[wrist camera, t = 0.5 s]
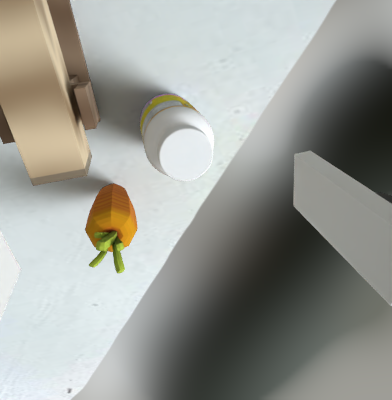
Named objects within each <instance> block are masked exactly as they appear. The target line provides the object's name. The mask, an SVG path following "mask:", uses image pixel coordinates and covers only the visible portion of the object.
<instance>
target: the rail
mask: <svg viewBox="0 0 392 400" xmlns="http://www.w3.org/2000/svg"><path fill="white" fill-rule="evenodd" d="M0 105H1V107H2V110H3V112H4V115H5V117H6V120H7V122H8V125H9V127H10V130H11V132H12V135H13V137H14V140H15V142H16V145H17V147H18V150H19V152H20V154H21V157H22V159H23V162H24V164H25V167H26V169H27V172H28V174H29V177H30V179H31V182H32V184H33V186H35V185H40V184H46V183H51V182H56V181H62V180H67V179H72V178H78V177H83V176H87V174H88V170H89V166H90V162H91V158H92V155H91V152H90V149H89V145H88V142H87V138H86V135H85V131H84V128H83V124H82V121H81V118H80V114H79V111H78V107H77V104H76V100H75V97H74V93H73V90H72V86H71V83H70V80H69V76H68V73H67V69H66V66H65V62H64V59H63V55H62V52H61V49H60V45H59V42H58V38H57V35H56V31H55V28H54V24H53V21H52V17H51V14H50V11H49V7H48V4H47V0H0Z"/></svg>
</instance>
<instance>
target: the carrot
mask: <svg viewBox="0 0 392 400" xmlns="http://www.w3.org/2000/svg"><path fill="white" fill-rule="evenodd" d="M85 231H86V233H87V235H88V237H89V238H90V240H91V242H92V244H93V245H94V247H96V250H99V251H101V252H100V253H99V254H98V256H97V257H96V258H95V259H94V260H93V261H92V262H91V263H90V264H89V266H90V267H96V266H97V265H98V264H99V263H100V262H101V261H102V259H103V258H104V256H105V255H106V253H107V251H110V252H113V257H114V264H115V268H116V271H117V273H122V272H123V271H124V270H125V268H124V264H123V261H122V257H121V253H120V251H121V250H123V249H124V247H127V246H129V244H130V242H131V241H132V239H133V237H134V235H135V233H136V231H137V221H136V215H135V210H134V208H133V205H132V203H131V201H130V199H129V196H128V194H127V192H126V190H125V189H124V188H123V187H122V186H119V185H117V184H114V183H113V184H110V185H108V186H105V187H103V188H102V189H101V190H100V191H99V193H98V195H97V196H96V199H95V201H94V203H93V205H92V208H91V210H90V213H89V216H88V220H87V224H86V228H85Z"/></svg>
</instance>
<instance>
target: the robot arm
mask: <svg viewBox="0 0 392 400" xmlns="http://www.w3.org/2000/svg"><path fill="white" fill-rule="evenodd" d="M294 156H295V157H294V158H295V159H294V160H295V162H294V207H295V208H296V209H297V210H299V212H300V213H301V214H302V215H303V216H304V217H305V218H306V219H307V220H308V221H309V222H310V223H311V224H312V225H313V226H314V227H315V228H316V229H317V230H318V231H319V232H320V233H321V234H322V236H323V237H324V238H325V239H326V240H327V241H328V242H329V243H330V244H331V245H332V246H333V247H334V248H335V249H336V250H337V251H338V252H339V253H340V254H341V255H342V256H343V257H344V258H345V259H346V260H347V261H348V262H349V263H350V264H351V265H352V266H353V267H354V269H355V270H357V272H358V273H359V274H360V275H361V276H362V277H363V278H364V279H365V280H366V281H367V282H368V283H369V284H370V285H371V286H372V287H373V288H374V289H375V290H376V291H377V292H378V293H379V294H380V295H381V296H382V297H383V298H384V299H385V300H386V301H387V302H388V303H389V304H390V305H391V306H392V196H391V195H388V194H385V193H382V192H378V193H374V192H373V191H371V190H370V189H368V188H367V187H365V186H364V185H362V184H360V183H359V182H357V181H356V180H354V179H353V178H351V177H350V176H348V175H347V174H345V173H343V172H342V171H341V170H339V169H337V168H336V167H334V166H333V165H331V164H330V163H328V162H327V161H325V160H323V159H322V158H321V157H319V156H317V155H316V154H314V153H313V152H311V151H307V152H302V153H298V154H295V155H294ZM20 272H21V268H20V266H19V264H18V263H17V261H16V259H15V257H14V255H13V253H12V252H11V250H10V248H9V246H8V244H7V242H6V240H5V239H4V237H3V235H2V233H1V231H0V320H1V318H2V315H3V313H4V311H5V308H6V306H7V303H8V301H9V298H10V296H11V294H12V291H13V289H14V286H15V284H16V281H17V279H18V276H19V274H20Z"/></svg>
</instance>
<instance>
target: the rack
mask: <svg viewBox="0 0 392 400" xmlns="http://www.w3.org/2000/svg"><path fill="white" fill-rule="evenodd" d="M47 4H48V7H49V11H50V14H51V17H52V21H53V24H54V28H55V31H56V35H57V38H58V42H59V45H60V49H61V52H62V55H63V59H64V62H65V66H66V69H67V73H68V76H69V80H70V83H71V86H72V90H73V93H74V97H75V100H76V104H77V107H78V111H79V114H80V118H81V121H82V124H84V126H85V130H89V129H95V128H96V127H97V123H98V122H99V121H100V115H99V112H98V108H97V104H96V100H95V96H94V92H93V89H92V85H91V81H90V77H89V73H88V69H87V66H86V62H85V58H84V54H83V50H82V46H81V43H80V39H79V35H78V31H77V27H76V23H75V20H74V16H73V12H72V8H71V4H70V0H47ZM0 137H1V139H2V142H3V144H6V143H11V142H15V140H14V137H13V135H12V132H11V130H10V127H9V125H8V122H7V120H6V117H5V115H4V112H3V110H2V107H1V105H0Z"/></svg>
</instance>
